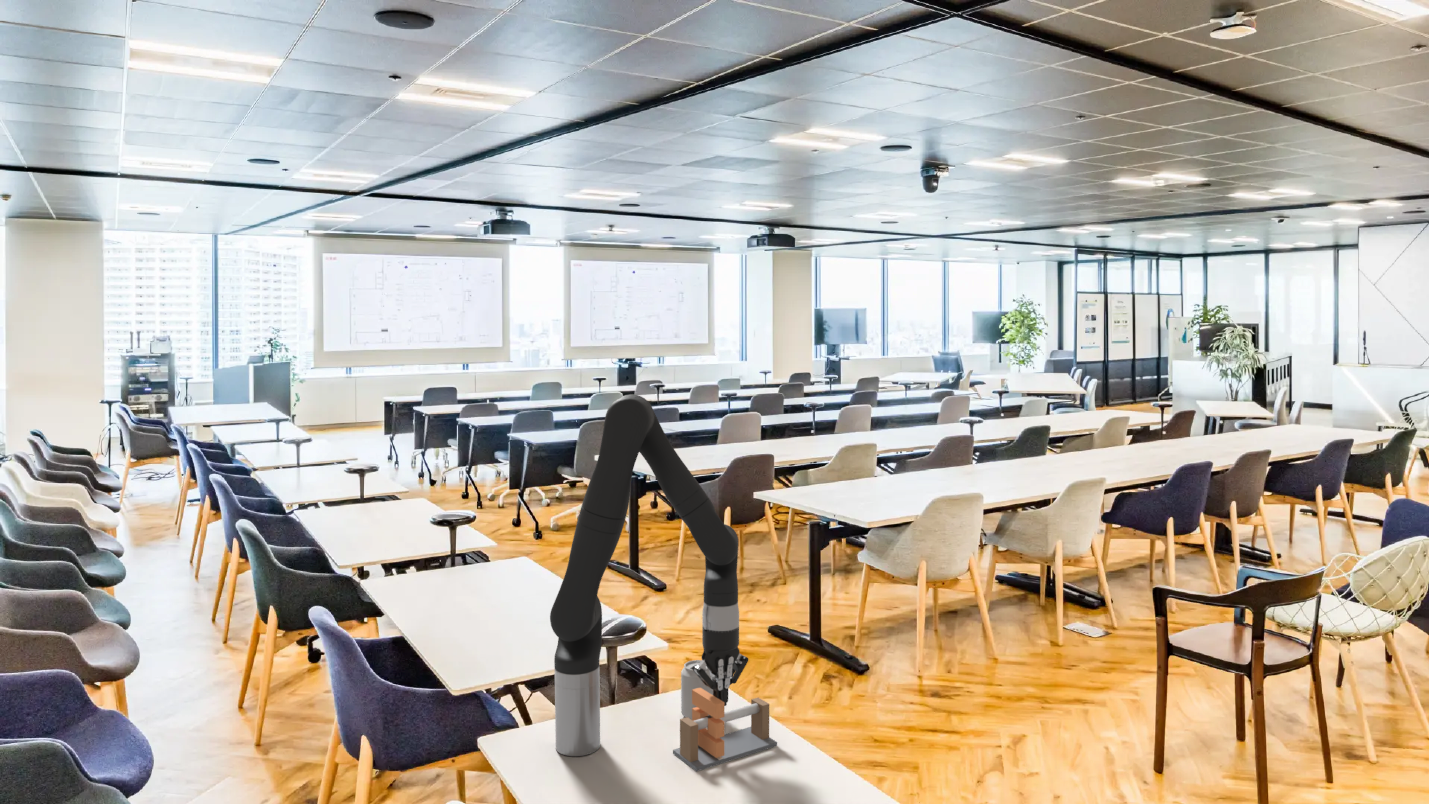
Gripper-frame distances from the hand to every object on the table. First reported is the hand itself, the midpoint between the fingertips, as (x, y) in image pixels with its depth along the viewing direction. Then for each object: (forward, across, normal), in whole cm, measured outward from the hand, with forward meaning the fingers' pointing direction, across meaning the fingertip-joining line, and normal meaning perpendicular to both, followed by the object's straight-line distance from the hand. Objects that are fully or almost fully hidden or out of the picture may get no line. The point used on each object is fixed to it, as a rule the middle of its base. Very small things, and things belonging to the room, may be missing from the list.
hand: (720, 705), depth 187 cm
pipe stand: (+10, -1, 0) cm, 10 cm away
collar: (+8, +3, 0) cm, 9 cm away
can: (+10, -5, -17) cm, 20 cm away
